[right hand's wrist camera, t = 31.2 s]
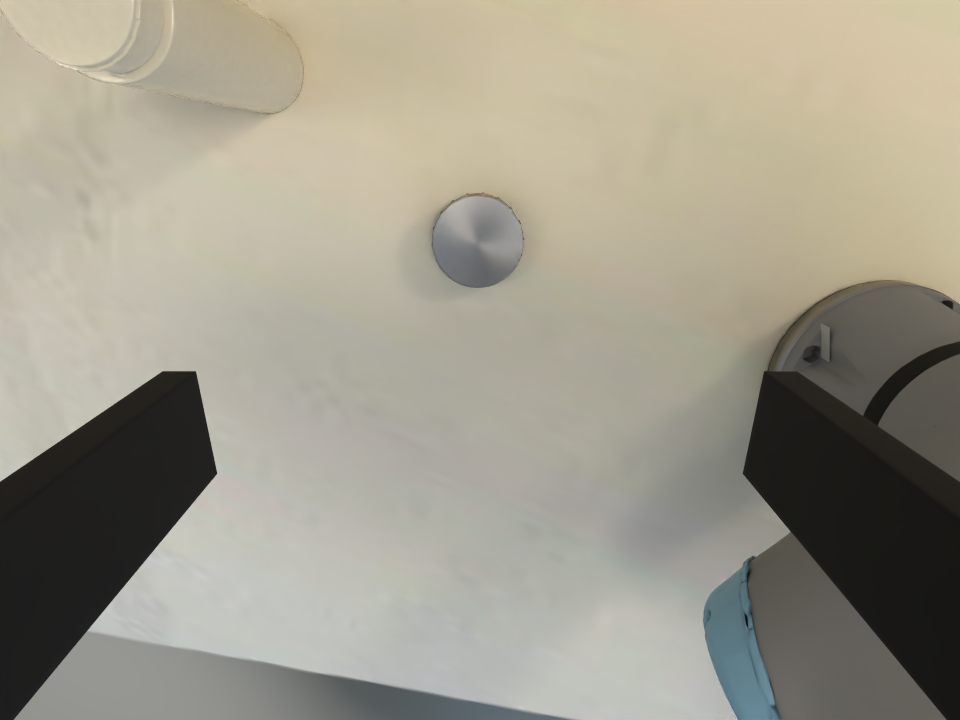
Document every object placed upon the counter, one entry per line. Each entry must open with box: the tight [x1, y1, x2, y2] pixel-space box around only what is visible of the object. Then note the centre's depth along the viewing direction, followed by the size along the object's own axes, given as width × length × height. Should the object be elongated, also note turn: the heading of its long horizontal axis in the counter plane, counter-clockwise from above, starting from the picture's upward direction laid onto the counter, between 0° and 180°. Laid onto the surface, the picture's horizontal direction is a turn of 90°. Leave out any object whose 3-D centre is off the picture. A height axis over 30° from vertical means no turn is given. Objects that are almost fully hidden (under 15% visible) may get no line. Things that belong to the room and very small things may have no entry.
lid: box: [432, 193, 524, 288], centre depth 38 cm, size 6×6×2 cm
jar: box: [0, 0, 304, 114], centre depth 27 cm, size 6×6×18 cm
